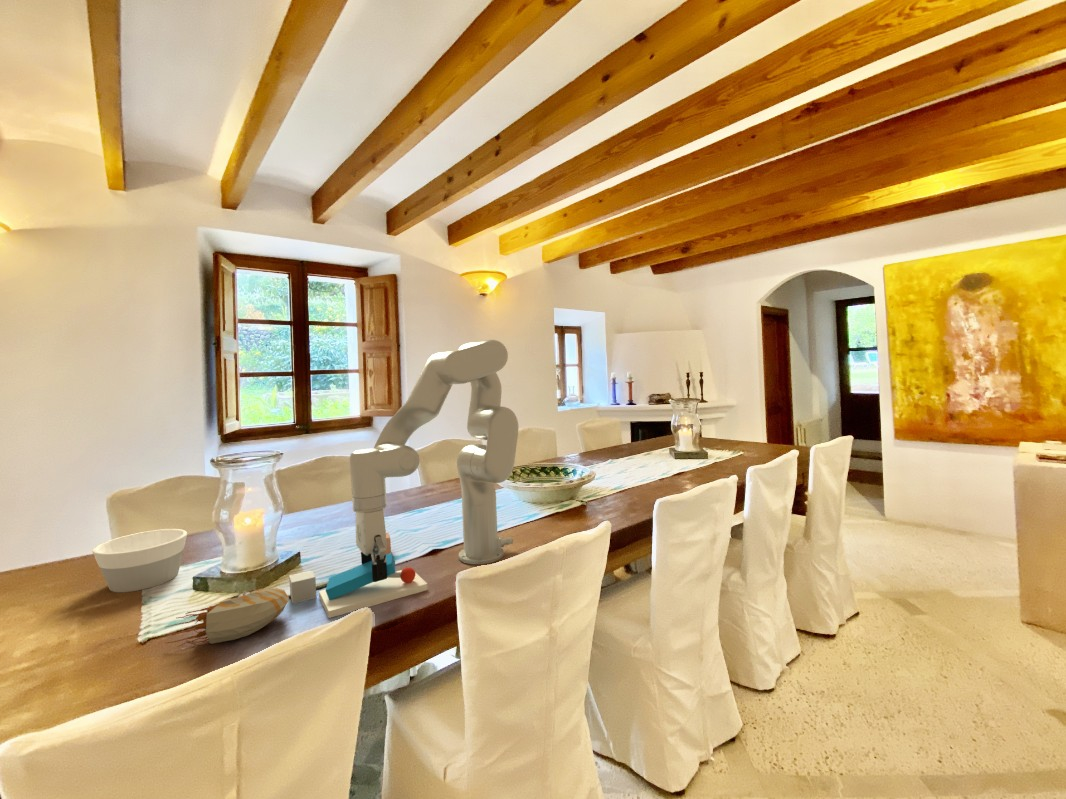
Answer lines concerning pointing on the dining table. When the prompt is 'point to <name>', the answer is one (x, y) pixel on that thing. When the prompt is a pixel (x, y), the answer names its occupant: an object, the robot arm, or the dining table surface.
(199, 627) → the nautilus
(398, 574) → the lever
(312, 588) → the grey block
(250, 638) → the dining table surface
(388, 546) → the terracotta block
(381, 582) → the board
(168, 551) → the bowl
